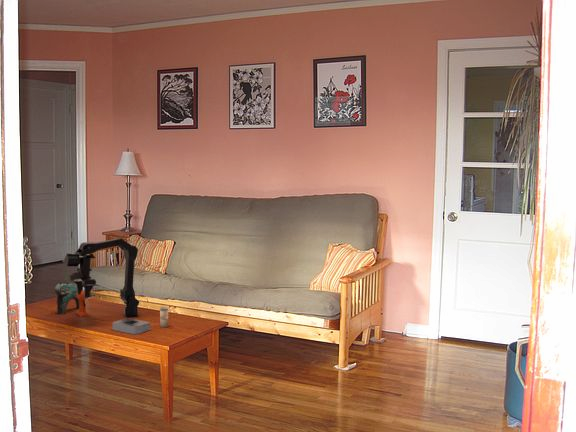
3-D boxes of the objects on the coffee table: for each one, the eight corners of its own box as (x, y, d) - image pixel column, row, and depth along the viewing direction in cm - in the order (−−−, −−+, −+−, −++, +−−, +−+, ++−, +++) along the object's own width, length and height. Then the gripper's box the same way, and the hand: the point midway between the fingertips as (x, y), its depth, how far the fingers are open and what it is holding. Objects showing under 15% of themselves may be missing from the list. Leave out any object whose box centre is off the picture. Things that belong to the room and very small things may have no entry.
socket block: (127, 325, 318) (127, 318, 318) (150, 330, 310) (150, 322, 310) (112, 329, 309) (112, 322, 309) (135, 334, 301) (135, 326, 301)
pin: (167, 325, 320) (167, 306, 319) (169, 326, 316) (169, 308, 316) (159, 325, 318) (159, 307, 318) (161, 327, 315) (161, 308, 314)
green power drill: (61, 315, 339) (60, 279, 337) (52, 313, 342) (51, 278, 340) (86, 307, 357) (86, 274, 355) (78, 306, 360) (77, 273, 358)
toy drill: (92, 318, 327) (90, 290, 327) (75, 316, 340) (73, 289, 340) (100, 316, 331) (98, 289, 331) (83, 314, 343) (81, 288, 343)
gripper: (63, 264, 323) (61, 293, 323) (76, 268, 308) (73, 299, 309) (83, 264, 330) (81, 292, 330) (97, 268, 316) (95, 298, 316)
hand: (82, 295), depth 321 cm, fingers open, 9 cm apart
